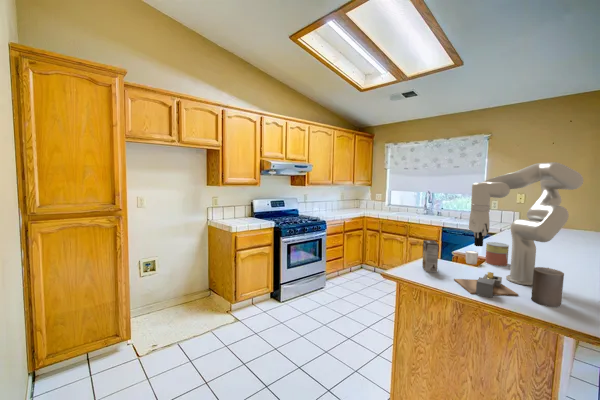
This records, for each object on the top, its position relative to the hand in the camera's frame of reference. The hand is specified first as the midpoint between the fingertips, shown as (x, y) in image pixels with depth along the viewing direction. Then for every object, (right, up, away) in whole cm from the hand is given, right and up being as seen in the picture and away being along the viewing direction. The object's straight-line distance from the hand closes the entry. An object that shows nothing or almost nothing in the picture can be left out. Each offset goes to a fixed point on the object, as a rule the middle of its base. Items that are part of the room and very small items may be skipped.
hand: (478, 245), depth 137 cm
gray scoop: (+3, -19, -4) cm, 19 cm away
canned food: (+34, -17, +36) cm, 52 cm away
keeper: (-3, -20, -9) cm, 22 cm away
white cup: (+19, -17, +37) cm, 45 cm away
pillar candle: (+17, -21, -18) cm, 33 cm away
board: (+1, -20, -2) cm, 20 cm away
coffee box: (-13, -18, +24) cm, 32 cm away
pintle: (+6, -19, +1) cm, 20 cm away
